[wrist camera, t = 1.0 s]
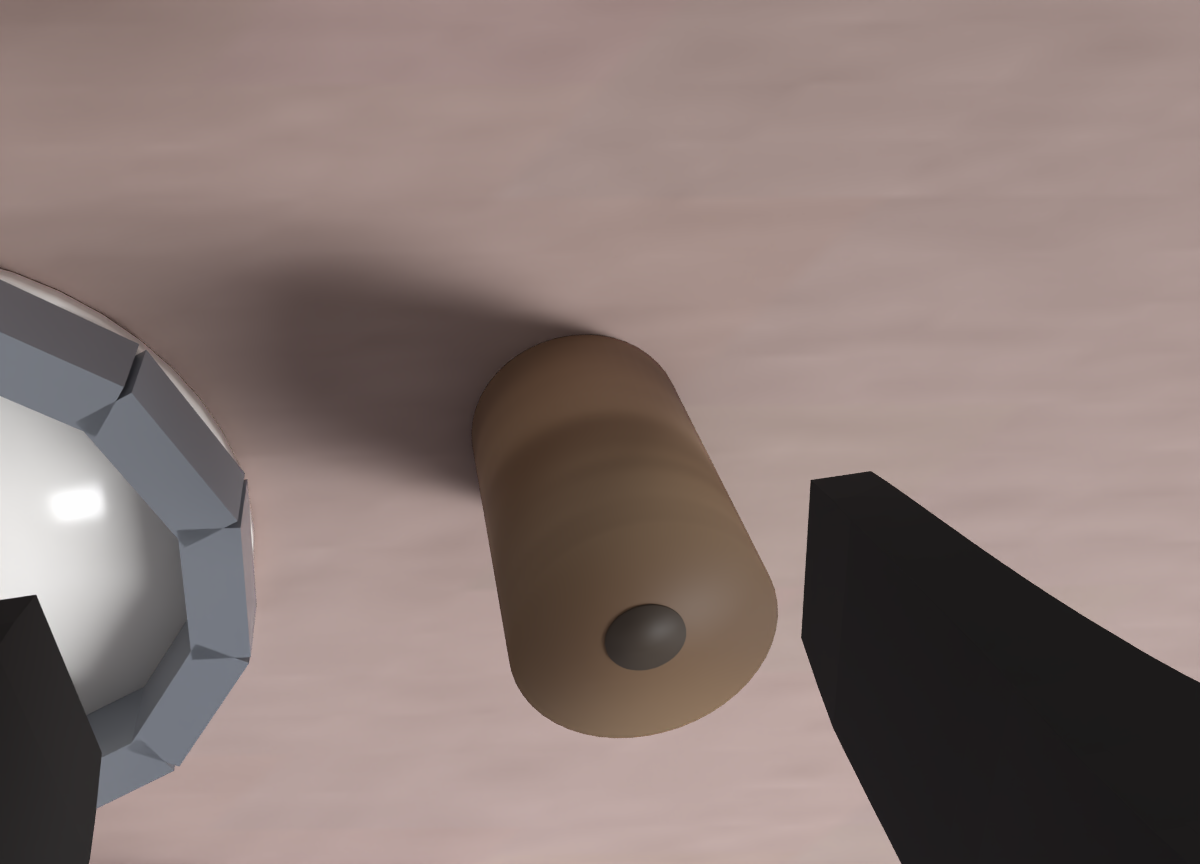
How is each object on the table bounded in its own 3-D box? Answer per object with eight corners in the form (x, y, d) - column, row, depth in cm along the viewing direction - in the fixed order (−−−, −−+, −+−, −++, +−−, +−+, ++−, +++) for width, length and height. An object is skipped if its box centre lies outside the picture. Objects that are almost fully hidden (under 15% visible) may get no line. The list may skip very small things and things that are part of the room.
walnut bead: (666, 514, 23) (755, 731, 18) (468, 520, 22) (502, 749, 17) (692, 334, 21) (800, 520, 16) (475, 334, 20) (515, 529, 15)
